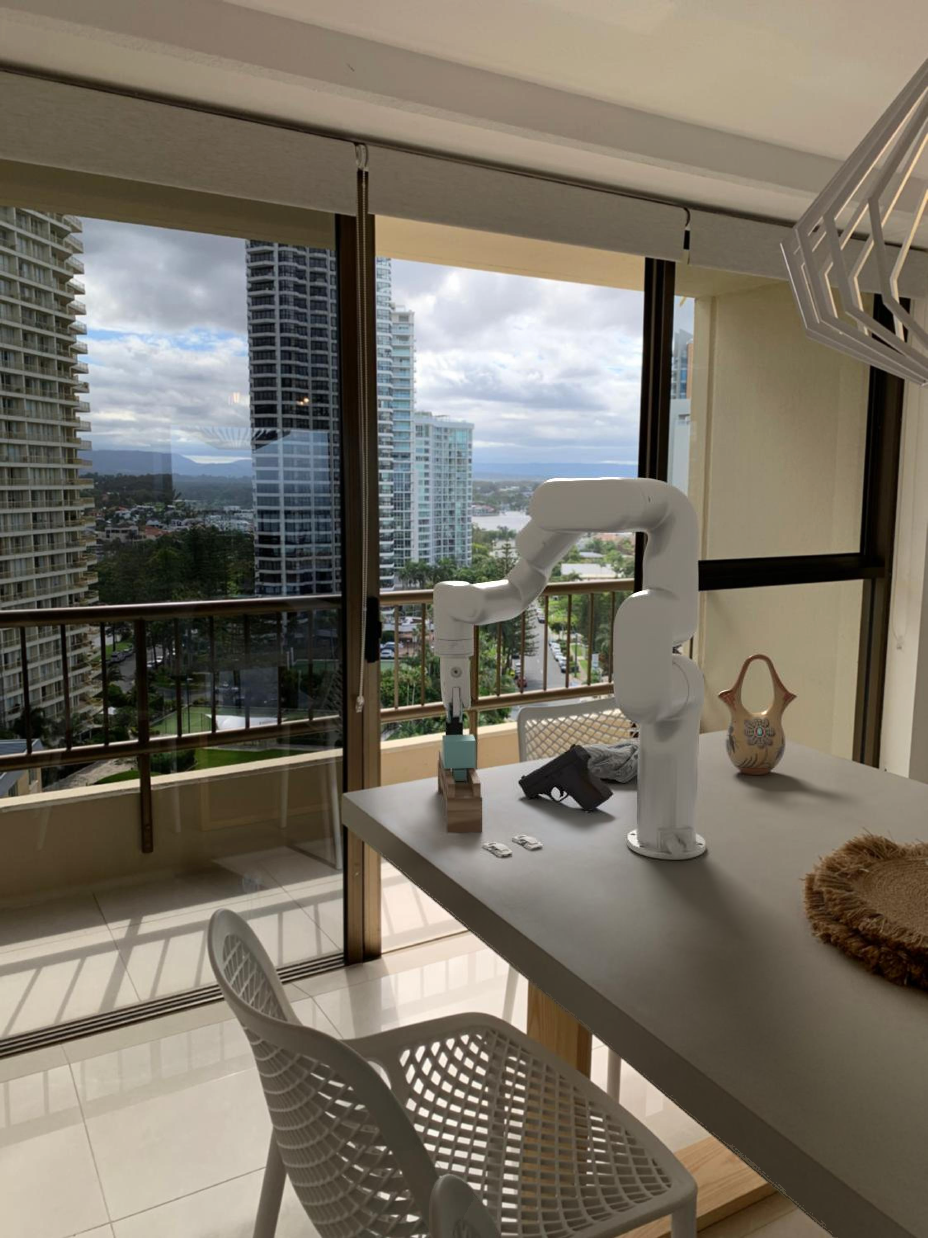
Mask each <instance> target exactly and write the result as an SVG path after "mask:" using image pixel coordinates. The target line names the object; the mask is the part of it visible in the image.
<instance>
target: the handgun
mask: <svg viewBox="0 0 928 1238" xmlns="http://www.w3.org/2000/svg"><path fill="white" fill-rule="evenodd" d="M582 746H583V745H581V744H576V743H573V744H571V746H569V749H568V750H566V751H564V752H563V753H561V754H560V755H558V756H556V757H555V758H553V759H551V760H550V761H548V762H546V763H545V764H543V765H542V766H540V767H539V768H537V769H535V770H533V771H531V772H530V773H528V774H526V775H525V774H524V775H522V776H521V778H520V779H519V780H518V781H517V782H518V785H519V787H520V788H521V790H522V792H523V793H524V795H525V797H526V798H527V799H528V800H531V799H532V798H535V797H536V796H539V795H543V796H544V795H545V796H547V797H548V798H549V799H550V800H551V801H552V802H554V803H557V804H558V803H561V802H562V801H564V800H565V799H567V798H568V797H571V798H572V799H573V800H574V801H575V803H577V804H578V805H579V807H581V808H582V810H584V812H586V813H589V812H591V811H593V810H594V809H597V808H598V807H599V806H601V805H602V804H604V803H605V802H607V801H609V799H610V798H611V797H612V796H613V795H614V792H613V791H612V790H611V789H610V788H609V786H608V785H607V784H606V783H605V782H603V781H602V779H601V778H598V777H596V776H595V775H594V774H593V773H592V772H591V771H590V770H589V769H588V761H589V759H590V758H592V756H591V755H590V754H589V753H588V752H587V751H586V750H585V749H584V748H583V747H582ZM587 753H588V754H587ZM555 788H556V789H557V791H559V796H558V797H559V798H561V799H556V798H555V797H554V796H553V794H552V793H553V790H554V789H555ZM564 795H565V796H564Z"/></svg>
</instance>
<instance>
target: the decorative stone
mask: <svg viewBox="0 0 928 1238" xmlns="http://www.w3.org/2000/svg"><path fill="white" fill-rule="evenodd" d="M581 746H582V747H583V748H584V749H585V750H586V751H587V752H588V753H589V754H590V755H591V756H592V758H590V759H589V761H588V769H589V770H590V771H591V772H592V773H593V774H594V775H595V776H596V777H597V778H599V779H601V780H602V779H603V780H616V781H617V782H619V783H627V782H629V781H630V780H632V779H633V778H634V777H635V776H638V740H636V739H633V738H628V739H627V738H626V739H625V740H618V741H617V742H615V743H614V744H611V743H608V744H606V743H597V744H596V743H594V744H584V745H581ZM588 753H587V754H588Z"/></svg>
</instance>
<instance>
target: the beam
mask: <svg viewBox="0 0 928 1238" xmlns="http://www.w3.org/2000/svg"><path fill="white" fill-rule="evenodd" d="M481 791H482V783H481V781H480V777H479V775H478V772H477V770H476V768H466V780H465V781H454V779H453V775H452V769H444V765H443V748H438V759H437V792H438V795H441V796H442V795H443V799H444V803H445V828H446V829H445V830H446V833H447V834H454V833H455V834H457V833H459V834H460V833H480V832H481V833H482V832H483V796H482V793H481Z"/></svg>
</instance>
